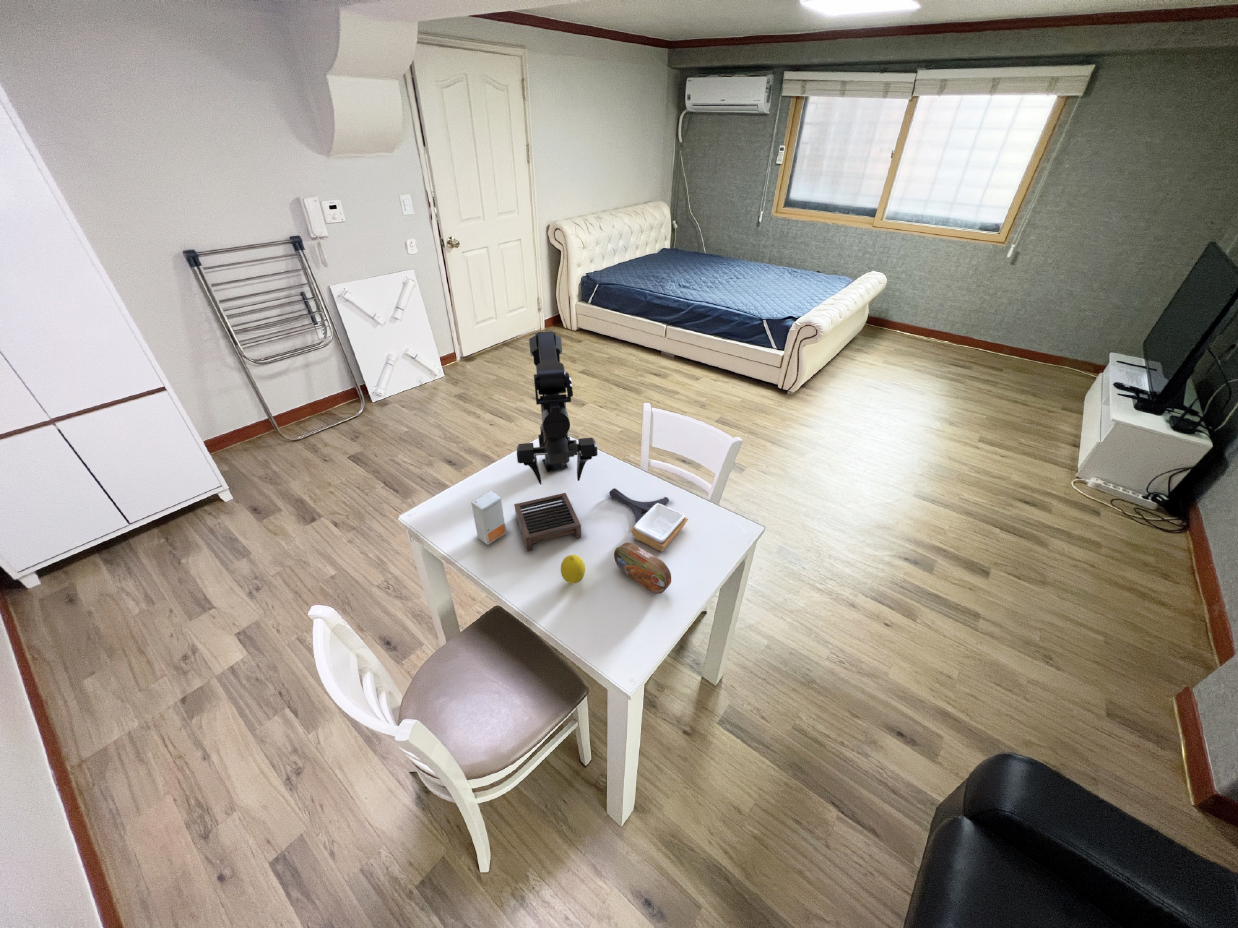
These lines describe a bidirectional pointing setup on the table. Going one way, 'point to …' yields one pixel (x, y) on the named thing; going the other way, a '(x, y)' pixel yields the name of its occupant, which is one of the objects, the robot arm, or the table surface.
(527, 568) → the table surface
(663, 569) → the tin
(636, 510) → the bracket
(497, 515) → the cosmetic box
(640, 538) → the soap dish
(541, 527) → the shoe rack
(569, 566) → the lemon
